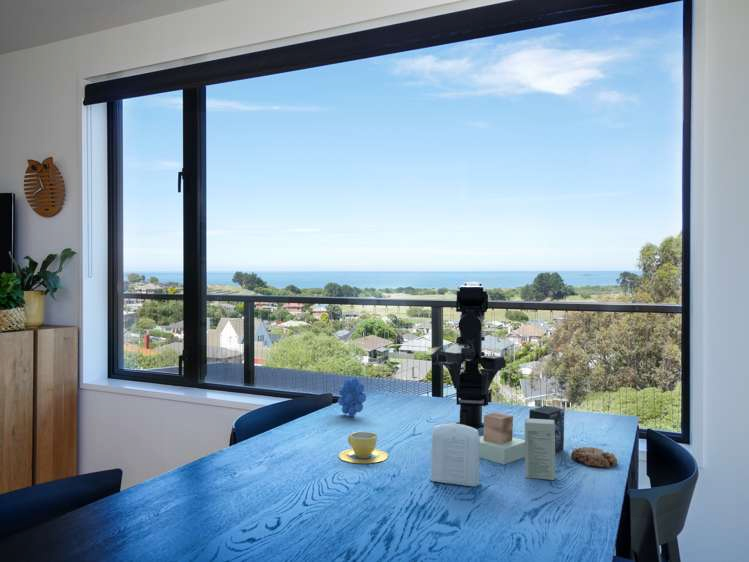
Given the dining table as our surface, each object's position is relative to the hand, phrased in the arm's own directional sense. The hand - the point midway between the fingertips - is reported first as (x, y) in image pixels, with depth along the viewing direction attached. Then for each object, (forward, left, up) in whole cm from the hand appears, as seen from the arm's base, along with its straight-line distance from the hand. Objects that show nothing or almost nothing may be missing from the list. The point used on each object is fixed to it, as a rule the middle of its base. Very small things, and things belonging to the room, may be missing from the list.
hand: (470, 391), depth 160 cm
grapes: (+6, -40, -13) cm, 42 cm away
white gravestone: (+29, +18, -13) cm, 36 cm away
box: (-6, +19, -13) cm, 24 cm away
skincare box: (+12, +28, -13) cm, 33 cm away
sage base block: (+6, +13, -13) cm, 20 cm away
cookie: (-7, +31, -13) cm, 35 cm away
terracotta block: (+6, +13, -9) cm, 17 cm away
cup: (+31, -8, -13) cm, 35 cm away
